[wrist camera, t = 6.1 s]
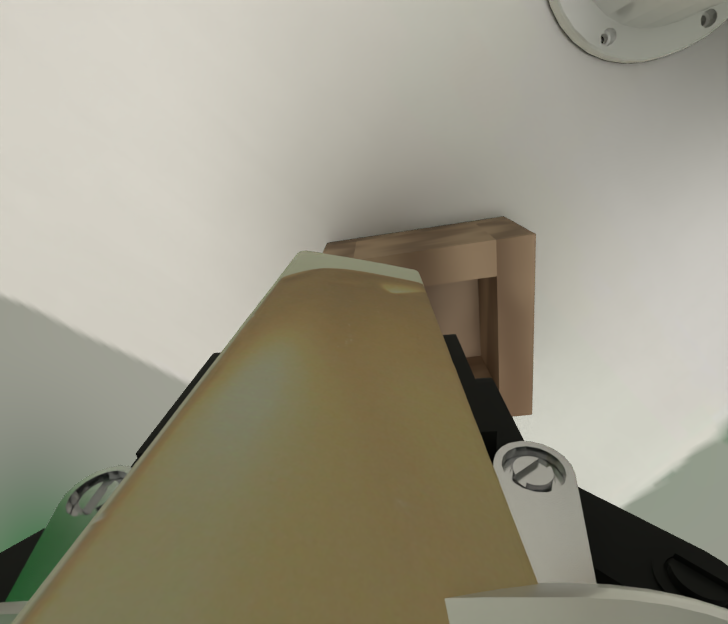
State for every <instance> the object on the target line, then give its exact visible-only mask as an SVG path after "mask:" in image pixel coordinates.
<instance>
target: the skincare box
mask: <svg viewBox="0 0 728 624" xmlns="http://www.w3.org/2000/svg"><path fill="white" fill-rule="evenodd" d="M533 584H538V581H537V579H536V576H535V574H534V571H533V568H532V566H531V563H530V561H529V558H528V556H527V553H526V550H525V548H524V545H523V543H522V540H521V537H520V535H519V532H518V530H517V527H516V524H515V522H514V519H513V517H512V514H511V511H510V509H509V506H508V504H507V501H506V498H505V496H504V493H503V490H502V488H501V485H500V482H499V479H498V477H497V474H496V472H495V470H494V467H493V465H492V462H491V460H490V458H489V455H488V452H487V450H486V447H485V444H484V442H483V439H482V436H481V434H480V431H479V429H478V426H477V424H476V421H475V419H474V416H473V414H472V411H471V408H470V405H469V403H468V400H467V398H466V395H465V392H464V390H463V387H462V384H461V382H460V379H459V376H458V374H457V371H456V368H455V366H454V364H453V361H452V359H451V356H450V353H449V350H448V348H447V345H446V342H445V340H444V337H443V335H442V332H441V330H440V327H439V324H438V322H437V319H436V317H435V314H434V311H433V309H432V306H431V304H430V301H429V298H428V296H427V293H426V290H425V288H424V285H423V282H422V279H421V277H420V274H419V272H418V271H416V270H413V269H408V268H403V267H398V266H393V265H388V264H383V263H376V262H371V261H366V260H360V259H354V258H349V257H342V256H336V255H330V254H324V253H318V252H311V251H301V252H299V253H298V254H297V255H296V256H295V257H294V259H293V260H292V261H291V263H290V264H289V265H288V267H287V268H286V269H285V270H284V272H283V273H282V274H281V275H280V277H279V278H278V280H277V281H276V282H275V284H274V285H273V286H272V287H271V289H270V290H269V291H268V293H267V294H266V295H265V296H264V298H263V299H262V300H261V301H260V303H259V304H258V305H257V307H256V308H255V309H254V311H253V312H252V313H251V314H250V316H249V317H248V318H247V319H246V321H245V322H244V323H243V325H242V326H241V327H240V329H239V330H238V331H237V333H236V334H235V335H234V336H233V338H232V339H231V340H230V342H229V343H228V344H227V346H226V347H225V348H224V349H223V351H222V352H221V353H220V355H219V356H218V357H217V358H216V360H215V361H214V362H213V364H212V365H211V366H210V367H209V369H208V370H207V371H206V373H205V374H204V375H203V377H202V378H201V379H200V380H199V382H198V383H197V384H196V386H195V387H194V388H193V389H192V391H191V392H190V393H189V395H188V396H187V397H186V399H185V400H184V401H183V402H182V404H181V405H180V406H179V408H178V409H177V410H176V412H175V413H174V414H173V415H172V417H171V418H170V419H169V421H168V422H167V423H166V425H165V426H164V427H163V429H162V430H161V431H160V432H159V434H158V435H157V436H156V438H155V439H154V440H153V442H152V443H151V444H150V445H149V447H148V448H147V449H146V451H145V452H144V453H143V454H142V456H141V457H140V458H139V460H138V461H137V462H136V463H135V465H134V466H133V467H132V469H131V470H130V471H129V472H128V474H127V475H126V476H125V478H124V479H123V480H122V481H121V483H120V484H119V485H118V487H117V488H116V489H115V490H114V492H113V493H112V494H111V496H110V497H109V498H108V499H107V501H106V502H105V503H104V505H103V506H102V507H101V508H100V510H99V511H98V512H97V514H96V515H95V516H94V517H93V519H92V520H91V521H90V523H89V524H88V525H87V526H86V528H85V529H84V530H83V532H82V533H81V534H80V535H79V537H78V538H77V539H76V541H75V542H74V543H73V544H72V546H71V547H70V548H69V550H68V551H67V552H66V553H65V555H64V556H63V557H62V559H61V560H60V561H59V562H58V564H57V565H56V566H55V568H54V569H53V570H52V571H51V573H50V574H49V575H48V577H47V578H46V579H45V580H44V582H43V583H42V584H41V586H40V587H39V588H38V589H37V591H36V592H35V593H34V595H33V596H32V597H31V598H30V600H29V601H28V602H27V604H26V605H25V606H24V607H23V609H22V610H21V611H20V613H19V614H18V615H17V616H16V618H15V619H14V620H13V622H12V623H11V624H449V619H448V614H447V608H446V603H445V598H449V597H455V596H461V595H467V594H473V593H478V592H485V591H491V590H497V589H503V588H511V587H520V586H527V585H533Z"/></svg>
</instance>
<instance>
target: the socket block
mask: <svg viewBox="0 0 728 624" xmlns="http://www.w3.org/2000/svg"><path fill="white" fill-rule="evenodd" d="M535 247H536V234H535V233H533V232H531V231H529V230H527V229H526V228H524V227H522V226H520V225H518V224H517V223H515V222H513V221H511V220H509V219H507V218H506V217H504V216H503V217H497V218H490V219H483V220H477V221H470V222H463V223H457V224H450V225H443V226H437V227H430V228H423V229H417V230H410V231H403V232H397V233H390V234H384V235H377V236H370V237H364V238H357V239H350V240H344V241H337V242H330V243H327V245H326V247H325V249H324V251H323V253H324V254H330V255H336V256H342V257H349V258H354V259H360V260H366V261H371V262H376V263H383V264H388V265H393V266H398V267H403V268H408V269H413V270H416V271H418V272H419V274H420V277H421V279H422V282H423V285H424V288H425V290H426V293H427V296H428V298H429V301H430V304H431V306H432V309H433V311H434V314H435V317H436V319H437V322H438V324H439V327H440V330H441V332H442V335H449V334H456V335H457V337H458V340H459V342H460V344H461V347H462V349H463V351H464V354H465V356H466V358H467V361H468V363H469V366H470V368H471V370H472V373H473V375H474V377H475V379H476V378H492V379H493V380H494V382H495V384H496V386H497V388H498V390H499V392H500V394H501V396H502V398H503V400H504V402H505V404H506V406H507V408H508V410H509V412H510V414H511V416H512V417H513V416H522V415H531V414H532V392H533V344H534V295H535Z"/></svg>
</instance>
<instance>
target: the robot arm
mask: <svg viewBox="0 0 728 624" xmlns="http://www.w3.org/2000/svg"><path fill="white" fill-rule="evenodd" d="M549 3H550V7H551V9H552V11H553V13H554V15H555V17H556V19H557V21H558V23H559V25H560V26H561V28H562V29H563V30H564V31H565V33H566V34H567V35H568V36H569V37H570V39H571V40H572V41H573V42H574V43H575V44H577V45H578V46H579V47H581V48H582V49H583V50H585V51H586V52H587V53H589V54H592V55H594V56H596V57H599V58H601V59H604V60H607V61H613V62H620V63H635V62H646V61H649V60H653V59H657V58H661V57H664V56H667V55H670V54H672V53H675V52H677V51H680V50H683V49H685V48H687V47H689V46H691V45H692V44H694V43H696V42H697V41H699V40H701V39H702V38H704V37H706V36H707V35H709V34H710V33H711V32H712V31H714V30H715V29H716V28H717V27H719V26H720V25H721V24H722V23H724V22H725V21H726V20H727V19H728V0H549ZM601 36H602V37H603V38H604V42H603V44H602V43H601ZM443 337H444V340H445V342H446V345H447V348H448V350H449V353H450V356H451V359H452V361H453V364H454V366H455V368H456V371H457V374H458V376H459V379H460V382H461V384H462V387H463V390H464V392H465V395H466V398H467V400H468V403H469V405H470V408H471V411H472V414H473V416H474V419H475V421H476V424H477V426H478V429H479V431H480V434H481V436H482V439H483V442H484V444H485V447H486V450H487V452H488V455H489V458H490V460H491V462H492V465H493V467H494V470H495V472H496V474H497V477H498V479H499V482H500V485H501V488H502V490H503V493H504V496H505V498H506V501H507V504H508V506H509V509H510V511H511V514H512V517H513V519H514V522H515V524H516V527H517V530H518V532H519V535H520V537H521V540H522V543H523V545H524V548H525V550H526V553H527V556H528V558H529V561H530V563H531V566H532V568H533V571H534V574H535V576H536V579H537V581H538V584H533V585H527V586H520V587H511V588H503V589H497V590H491V591H485V592H478V593H473V594H467V595H461V596H455V597H449V598H445V603H446V608H447V614H448V619H449V624H728V566H727V565H726V564H725V563H723V562H722V561H721V560H719V559H717V558H716V557H714V556H712V555H710V554H709V553H707V552H705V551H704V550H702V549H700V548H698V547H696V546H694V545H692V544H690V543H688V542H686V541H684V540H682V539H680V538H678V537H676V536H674V535H672V534H670V533H668V532H666V531H664V530H662V529H660V528H658V527H656V526H654V525H652V524H650V523H648V522H646V521H645V520H642V519H641V518H639V517H637V516H635V515H633V514H631V513H628V512H627V511H625V510H623V509H621V508H619V507H617V506H615V505H613V504H611V503H609V502H607V501H605V500H603V499H601V498H599V497H597V496H595V495H593V494H591V493H589V492H587V491H585V490H583V489H581V488H579V487H578V485H577V480H576V475H575V472H574V470H573V467H572V465H571V464H570V463H569V461H568V460H567V459H566V458H565V457H564V456H563V455H561V454H560V453H559V452H557V451H556V450H554V449H552V448H550V447H548V446H546V445H543V444H540V443H535V442H531V441H524V440H523V438H522V436H521V434H520V432H519V430H518V428H517V426H516V424H515V422H514V420H513V418H512V416H511V414H510V412H509V410H508V408H507V406H506V404H505V402H504V400H503V398H502V396H501V394H500V392H499V390H498V388H497V386H496V384H495V382H494V380H493V379H492V378H476V379H475V377H474V375H473V373H472V370H471V368H470V366H469V363H468V361H467V358H466V356H465V354H464V351H463V349H462V347H461V344H460V342H459V340H458V337H457V335H456V334H449V335H443ZM219 355H220V353H214V354H212V356H211V357H210V358H209V360H208V361H207V362H206V363H205V365H204V366H203V367H202V369H201V370H200V371H199V372H198V374H197V375H196V376H195V378H194V379H193V380H192V381H191V383H190V384H189V385H188V387H187V388H186V389H185V391H184V392H183V393H182V395H181V396H180V397H179V398H178V400H177V401H176V402H175V404H174V405H173V406H172V408H171V409H170V410H169V411H168V413H167V414H166V415H165V417H164V418H163V419H162V420H161V422H160V423H159V424H158V425H157V427H156V428H155V429H154V431H153V432H152V433H151V435H150V436H149V437H148V438H147V440H146V441H145V442H144V444H143V445H142V446H141V447H140V449H139V450H138V451H137V453H136V455H137V459H136V461H135V462H134V463H133V465H132V466H131V467H129V466H123V465H118V466H113V467H108V468H105V469H102V470H100V471H97V472H95V473H93V474H91V475H89V476H87V477H86V478H84V479H83V480H81V481H80V482H78V483H77V484H75V485H74V486H73V487H72V488H71V489H70V490H69V491H68V492H67V493H66V494H65V495H64V497H63V498H62V499H61V501H60V502H59V504H58V506H57V507H56V509H55V511H54V513H53V515H52V517H51V518H50V520H49V522H48V524H47V526H46V528H44V529H42V530H41V531H39V532H37V533H35V534H33V535H32V536H30V537H28V538H26V539H24V540H23V541H21V542H19V543H17V544H16V545H14V546H12V547H10V548H8V549H6V550H5V551H3V552H1V553H0V624H11V623H12V622H13V620H14V619H15V618H16V616H17V615H18V614H19V613H20V611H21V610H22V609H23V607H24V606H25V605H26V604H27V602H28V601H29V600H30V598H31V597H32V596H33V595H34V593H35V592H36V591H37V589H38V588H39V587H40V586H41V584H42V583H43V582H44V580H45V579H46V578H47V577H48V575H49V574H50V573H51V571H52V570H53V569H54V568H55V566H56V565H57V564H58V562H59V561H60V560H61V559H62V557H63V556H64V555H65V553H66V552H67V551H68V550H69V548H70V547H71V546H72V544H73V543H74V542H75V541H76V539H77V538H78V537H79V535H80V534H81V533H82V532H83V530H84V529H85V528H86V526H87V525H88V524H89V523H90V521H91V520H92V519H93V517H94V516H95V515H96V514H97V512H98V511H99V510H100V508H101V507H102V506H103V505H104V503H105V502H106V501H107V499H108V498H109V497H110V496H111V494H112V493H113V492H114V490H115V489H116V488H117V487H118V485H119V484H120V483H121V481H122V480H123V479H124V478H125V476H126V475H127V474H128V472H129V471H130V470H131V469H132V467H133V466H134V465H135V463H136V462H137V461H138V460H139V458H140V457H141V456H142V454H143V453H144V452H145V451H146V449H147V448H148V447H149V445H150V444H151V443H152V442H153V440H154V439H155V438H156V436H157V435H158V434H159V432H160V431H161V430H162V429H163V427H164V426H165V425H166V423H167V422H168V421H169V419H170V418H171V417H172V415H173V414H174V413H175V412H176V410H177V409H178V408H179V406H180V405H181V404H182V402H183V401H184V400H185V399H186V397H187V396H188V395H189V393H190V392H191V391H192V389H193V388H194V387H195V386H196V384H197V383H198V382H199V380H200V379H201V378H202V377H203V375H204V374H205V373H206V371H207V370H208V369H209V367H210V366H211V365H212V364H213V362H214V361H215V360H216V358H217V357H218V356H219Z"/></svg>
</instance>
